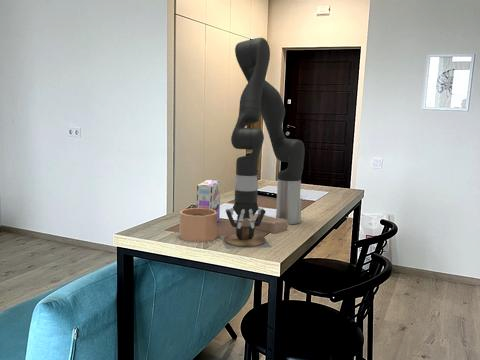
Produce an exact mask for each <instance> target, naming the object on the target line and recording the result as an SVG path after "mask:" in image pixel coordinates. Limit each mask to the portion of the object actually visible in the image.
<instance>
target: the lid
mask: <svg viewBox="0 0 480 360" xmlns="http://www.w3.org/2000/svg"><path fill="white" fill-rule="evenodd" d="M266 241H267V240H266V238H265V237H264V236H263V235H262V236H260V235H259V234H255V233H254V237H252V239H250V227H249V226H243V225H241V239H238V238H237V236H236V233H230V234H227V236H225V237H224V242H225V243H226V244H229V245H232V246H237V247H256V246H261V245H263V244H265V242H266Z"/></svg>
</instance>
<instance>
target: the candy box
mask: <svg viewBox="0 0 480 360" xmlns="http://www.w3.org/2000/svg"><path fill="white" fill-rule="evenodd" d="M220 199H221V180H215V179H206V180H205V181H203V182H200V183H199V184H197V185H196V208H205V209H212V210H215V211H216V212H217V223H218V222H219V221H220V220H221V219H220V215H221V214H220V213H221V211H220V207H221V206H220V205H221V203H220V202H221V200H220Z"/></svg>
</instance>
